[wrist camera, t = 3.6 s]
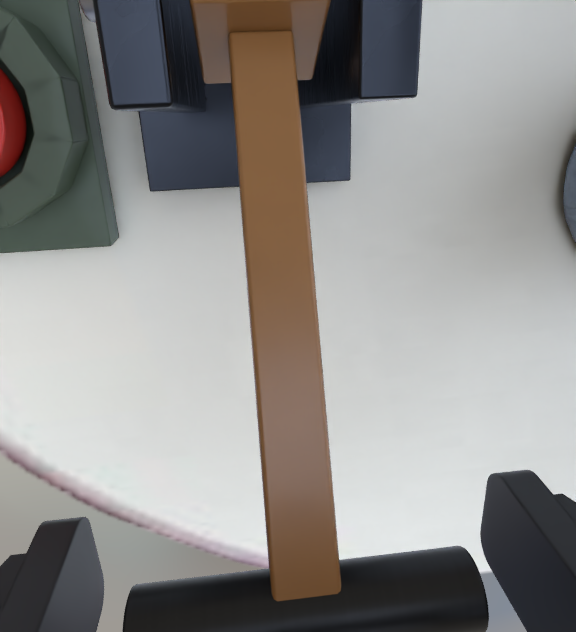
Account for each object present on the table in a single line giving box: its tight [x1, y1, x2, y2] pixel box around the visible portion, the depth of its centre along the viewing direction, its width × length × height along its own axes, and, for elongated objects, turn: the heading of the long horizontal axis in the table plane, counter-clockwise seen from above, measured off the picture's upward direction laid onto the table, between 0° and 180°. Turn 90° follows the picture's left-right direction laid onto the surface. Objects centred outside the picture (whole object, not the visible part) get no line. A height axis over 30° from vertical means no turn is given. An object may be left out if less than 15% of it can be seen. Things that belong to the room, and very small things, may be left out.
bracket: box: [79, 0, 422, 191], centre depth 13 cm, size 10×8×13 cm
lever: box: [123, 0, 489, 632], centre depth 8 cm, size 13×6×2 cm, turn 1°
